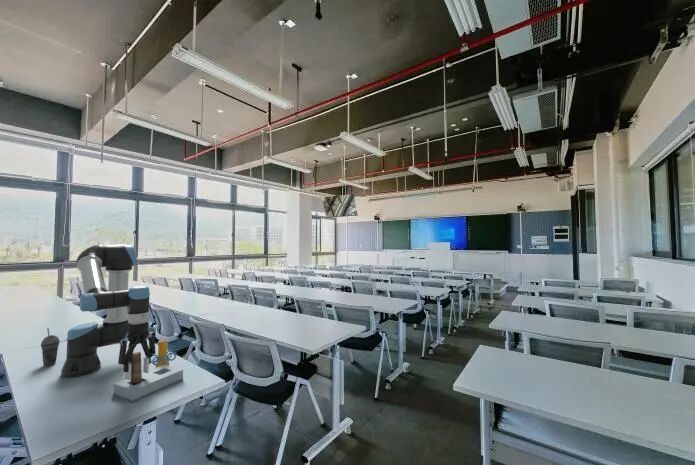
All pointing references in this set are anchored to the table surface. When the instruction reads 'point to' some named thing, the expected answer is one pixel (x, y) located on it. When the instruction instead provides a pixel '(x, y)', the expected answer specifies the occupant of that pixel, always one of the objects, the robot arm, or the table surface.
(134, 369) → the pin
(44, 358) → the beverage cup
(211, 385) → the table surface
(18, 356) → the table surface
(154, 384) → the hole block
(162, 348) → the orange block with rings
